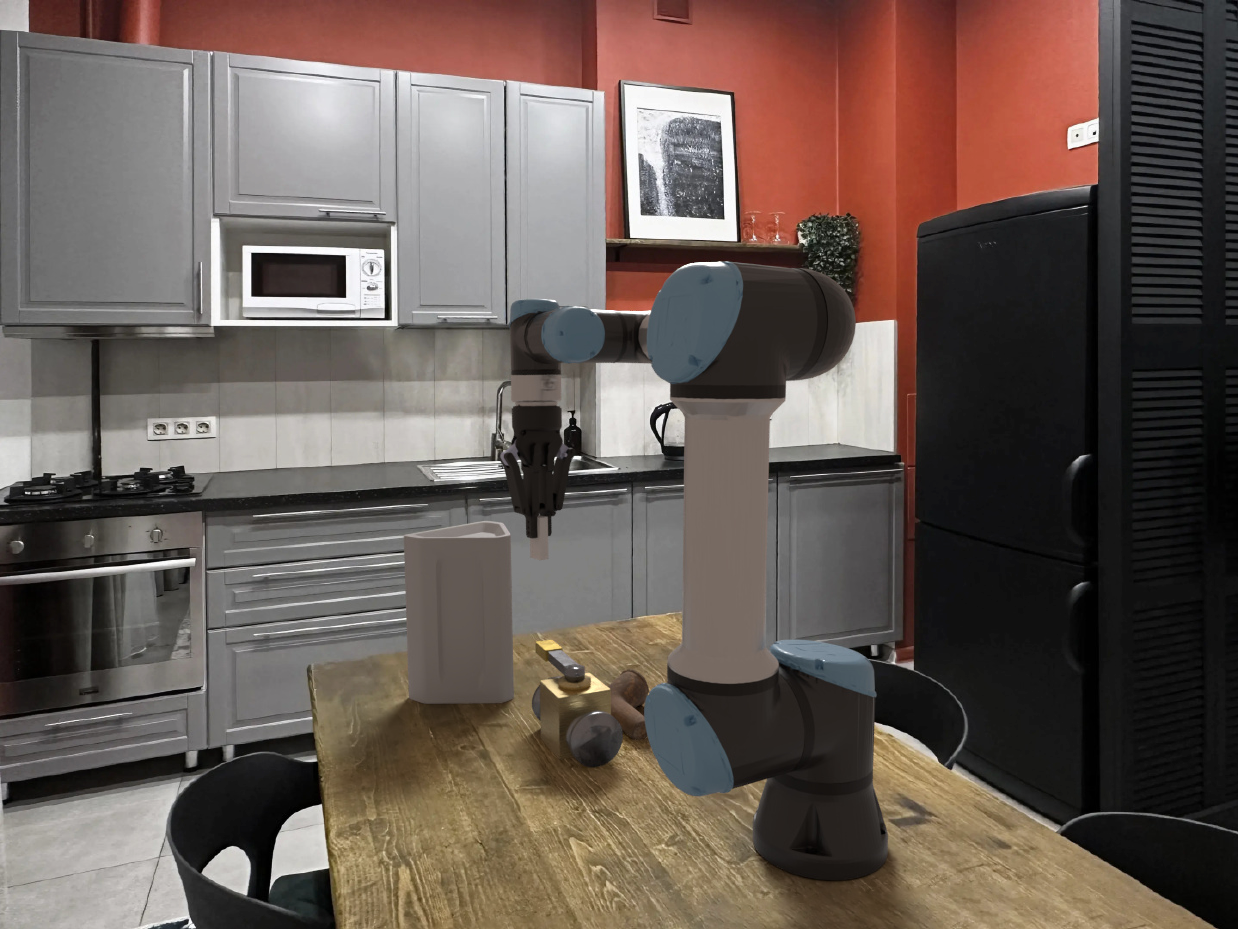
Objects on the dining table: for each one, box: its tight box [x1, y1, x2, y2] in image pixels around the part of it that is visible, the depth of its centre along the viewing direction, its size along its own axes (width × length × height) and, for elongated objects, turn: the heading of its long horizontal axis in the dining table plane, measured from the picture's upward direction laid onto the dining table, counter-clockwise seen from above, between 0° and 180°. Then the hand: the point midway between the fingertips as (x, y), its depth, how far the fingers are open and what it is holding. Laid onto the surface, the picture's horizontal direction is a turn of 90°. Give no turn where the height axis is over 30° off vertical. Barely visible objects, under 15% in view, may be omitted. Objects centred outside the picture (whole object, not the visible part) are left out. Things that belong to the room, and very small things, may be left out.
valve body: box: [531, 672, 624, 768], centre depth 127 cm, size 17×8×10 cm, turn 25°
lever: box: [534, 639, 586, 682], centre depth 132 cm, size 16×3×2 cm, turn 24°
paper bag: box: [403, 520, 515, 705], centre depth 149 cm, size 19×15×28 cm
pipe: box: [607, 668, 650, 741], centre depth 137 cm, size 6×17×10 cm
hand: (539, 558), depth 133 cm, fingers closed
